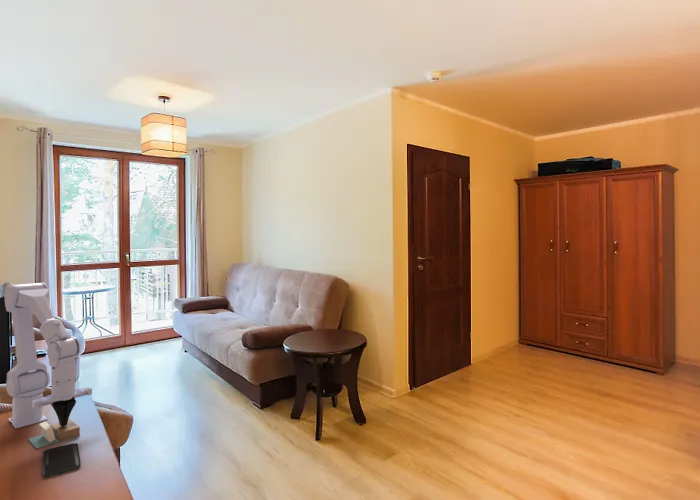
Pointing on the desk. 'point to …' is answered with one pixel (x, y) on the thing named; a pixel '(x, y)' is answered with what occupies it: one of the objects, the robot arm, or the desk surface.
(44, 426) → the cream rectangular block
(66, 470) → the phone
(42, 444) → the mat
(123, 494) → the desk surface
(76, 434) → the block
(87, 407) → the desk surface
